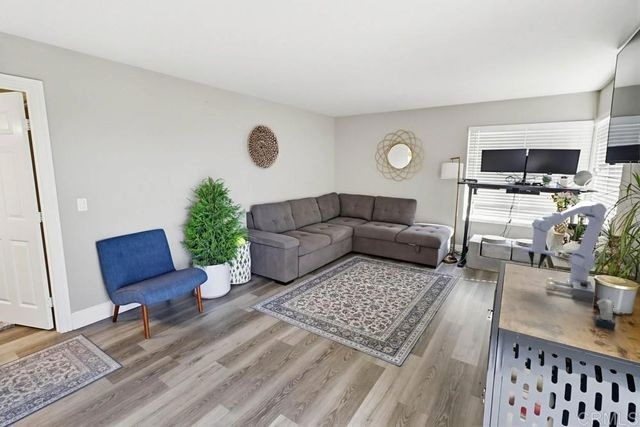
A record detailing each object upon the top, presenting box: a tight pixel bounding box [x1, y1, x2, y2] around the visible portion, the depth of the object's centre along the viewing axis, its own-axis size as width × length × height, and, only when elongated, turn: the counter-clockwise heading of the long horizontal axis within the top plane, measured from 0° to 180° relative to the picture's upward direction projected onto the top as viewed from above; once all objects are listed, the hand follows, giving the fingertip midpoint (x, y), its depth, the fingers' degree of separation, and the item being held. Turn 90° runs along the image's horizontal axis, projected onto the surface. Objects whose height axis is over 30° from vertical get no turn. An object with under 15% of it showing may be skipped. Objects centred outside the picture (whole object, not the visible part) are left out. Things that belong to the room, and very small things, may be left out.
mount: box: [569, 278, 596, 304], centre depth 151 cm, size 15×8×7 cm, turn 146°
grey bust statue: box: [593, 298, 616, 332], centre depth 123 cm, size 6×8×11 cm
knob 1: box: [545, 282, 573, 293], centre depth 153 cm, size 12×4×4 cm, turn 56°
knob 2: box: [545, 277, 572, 287], centre depth 159 cm, size 12×4×4 cm, turn 56°
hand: (535, 266), depth 164 cm, fingers open, 2 cm apart
